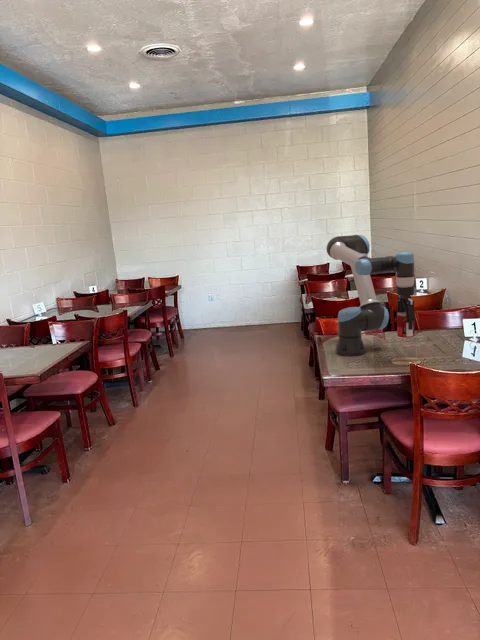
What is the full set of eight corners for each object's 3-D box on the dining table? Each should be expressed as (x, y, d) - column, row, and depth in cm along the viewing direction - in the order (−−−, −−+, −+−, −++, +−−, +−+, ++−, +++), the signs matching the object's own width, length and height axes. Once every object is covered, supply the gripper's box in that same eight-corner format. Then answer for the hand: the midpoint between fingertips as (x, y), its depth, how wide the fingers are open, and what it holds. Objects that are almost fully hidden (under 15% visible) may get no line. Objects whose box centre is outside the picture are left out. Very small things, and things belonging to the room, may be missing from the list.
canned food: (403, 338, 219) (403, 314, 217) (393, 335, 226) (393, 312, 224) (418, 336, 221) (418, 313, 219) (407, 333, 228) (407, 310, 226)
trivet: (387, 359, 232) (387, 358, 232) (413, 357, 233) (413, 355, 232) (397, 367, 219) (397, 365, 219) (425, 364, 220) (425, 362, 220)
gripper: (423, 287, 209) (423, 338, 213) (404, 283, 230) (404, 329, 234) (406, 289, 209) (407, 339, 213) (388, 284, 229) (389, 330, 233)
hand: (405, 334), depth 223 cm, fingers closed on canned food, 8 cm apart
